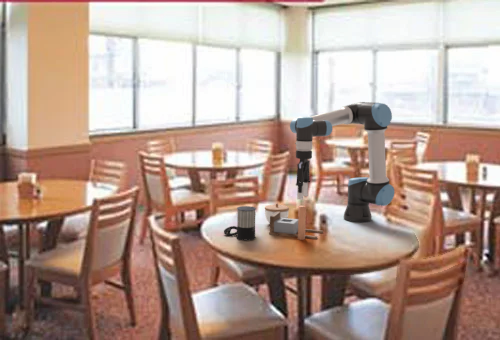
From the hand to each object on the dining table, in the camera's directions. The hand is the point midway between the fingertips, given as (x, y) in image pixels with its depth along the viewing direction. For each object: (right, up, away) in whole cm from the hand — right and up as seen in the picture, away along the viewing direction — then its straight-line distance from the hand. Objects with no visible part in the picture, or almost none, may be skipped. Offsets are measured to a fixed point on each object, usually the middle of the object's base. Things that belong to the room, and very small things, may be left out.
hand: (302, 197), depth 288 cm
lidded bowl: (-11, -16, +33) cm, 38 cm away
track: (-2, -19, +13) cm, 23 cm away
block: (-7, -18, +15) cm, 24 cm away
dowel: (0, -20, +3) cm, 20 cm away
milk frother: (-30, -19, +6) cm, 36 cm away
